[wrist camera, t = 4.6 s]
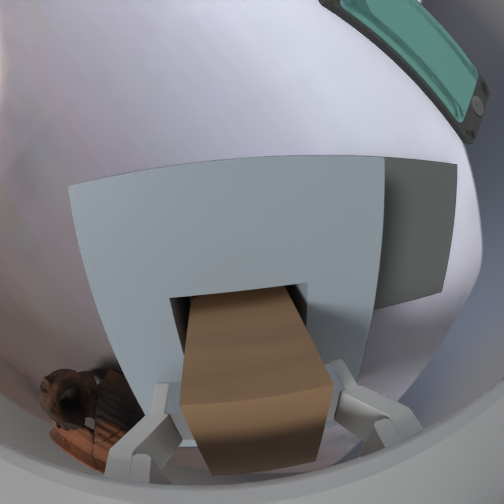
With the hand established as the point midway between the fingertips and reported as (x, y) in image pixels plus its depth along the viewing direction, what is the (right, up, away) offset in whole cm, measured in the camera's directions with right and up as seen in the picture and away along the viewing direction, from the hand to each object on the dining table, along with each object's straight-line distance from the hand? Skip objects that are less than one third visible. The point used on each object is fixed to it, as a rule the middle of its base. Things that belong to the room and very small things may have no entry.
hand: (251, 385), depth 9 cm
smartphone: (+12, +20, +3) cm, 23 cm away
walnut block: (-1, +2, +6) cm, 6 cm away
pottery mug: (-12, -7, +9) cm, 16 cm away
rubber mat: (+10, +6, +7) cm, 13 cm away
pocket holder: (-1, +2, +7) cm, 7 cm away
